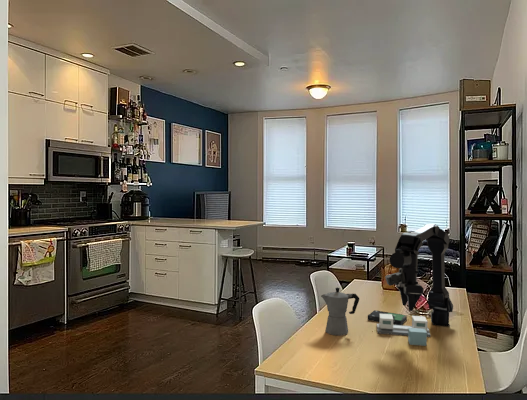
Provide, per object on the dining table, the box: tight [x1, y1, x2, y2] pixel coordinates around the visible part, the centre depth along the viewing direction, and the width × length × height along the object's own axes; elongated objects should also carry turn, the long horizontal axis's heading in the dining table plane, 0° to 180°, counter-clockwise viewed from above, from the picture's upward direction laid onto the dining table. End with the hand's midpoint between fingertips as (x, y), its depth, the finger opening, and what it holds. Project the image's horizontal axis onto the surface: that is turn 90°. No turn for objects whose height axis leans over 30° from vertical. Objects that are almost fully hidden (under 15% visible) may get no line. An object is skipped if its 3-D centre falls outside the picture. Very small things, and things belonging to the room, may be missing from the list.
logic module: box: [407, 328, 428, 347], centre depth 165 cm, size 6×5×5 cm
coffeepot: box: [320, 287, 360, 336], centre depth 177 cm, size 15×9×18 cm, turn 90°
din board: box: [376, 314, 432, 338], centre depth 179 cm, size 20×10×6 cm, turn 78°
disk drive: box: [367, 310, 408, 325], centre depth 194 cm, size 10×3×15 cm
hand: (407, 308), depth 166 cm, fingers open, 9 cm apart
